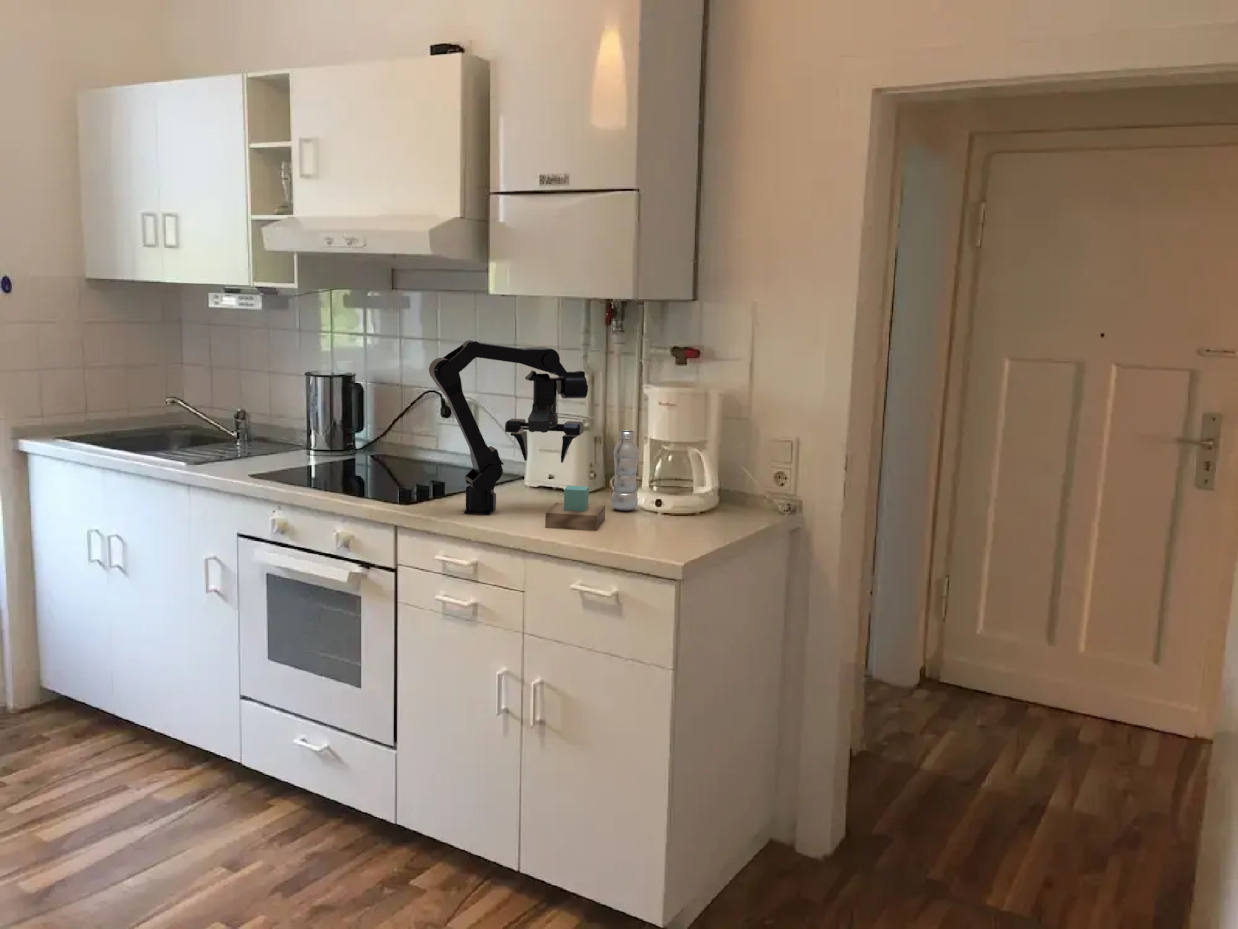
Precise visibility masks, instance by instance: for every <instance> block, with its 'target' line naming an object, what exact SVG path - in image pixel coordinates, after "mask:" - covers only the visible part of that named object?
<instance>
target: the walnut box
mask: <svg viewBox="0 0 1238 929" xmlns="http://www.w3.org/2000/svg"><path fill="white" fill-rule="evenodd" d="M544 519H545V521H544V522H545V525H544V527H545V529H557V530H558V529H559V530H560V529H561V530H576V531H589V532H590V531H591V532H593V531H594V532H597V531H598V530H599V529H600V527H601V526H602V524H603V523H604V522H605V520H606V505H605V504H603V505H602V504H589V503H588V508H587V510H586V511H585V512H584V511H566V510H564V502H555V503H554V504H553V505H552V506H551V507H550V508H549V509H548V510H547V511H546V512H545V518H544Z"/></svg>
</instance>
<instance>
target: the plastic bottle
mask: <svg viewBox="0 0 1238 929" xmlns="http://www.w3.org/2000/svg"><path fill="white" fill-rule="evenodd" d="M635 438H636V437H635V431H634V430H626V429H625V430H619V436H618V439H619V441H618V443H616V445H615V447H614V449H613V461H614V462H613V463H614V473H615V474H614V483H613V484H614V485H613V491H612V495H611V505H612V507H613V509H615V510H618V511H622V512H627V511H633V510H635V509H636V508H637V506H638V502H639V497H638V492H637V472H638V465H639V460H640V450H639V447H638V446H637V444H636V443H635Z"/></svg>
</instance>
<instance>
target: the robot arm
mask: <svg viewBox="0 0 1238 929" xmlns="http://www.w3.org/2000/svg"><path fill="white" fill-rule="evenodd" d="M476 358H479V359H485V360H486V359H487V360H492V361H501V362H508V363H513V364H514V363H515V364H520V365H524V366H526V367H530V368H532V369H536V370H539V371H543V372H546V373H537V372H536V371H535V370H531V371H530V372H529V373H528V374H527V375H526V376H525V378H524V379H525V380H526V381H529V382H533V386H532V387H533V388H532V389H533V390H532V391H533V394H532V395H533V399H532V400H533V402H532V407H531V408H532V409H531V411H530V414H529V416H528V418H527V421H526V419H525V418H511V419H508V420H507V421H506V422H505V423H504V432H505V433H509V434H510V436H512V437H514V438H515V440H516V441H517V443H518V445H519V447H520V451H521V454H522V457H523V459H524V461H525V462H527V461H528V454H529V453H528V432H527V431H529V432H530V433H535V432H537V433H539V432H540V433H543V434H544V433H545V434H546V433H548V432H563V433H564V434H563V436H562V444H561V454H560V463H564V462H565V458H566V455H567V453H568V451H569V448H570V446H571V444H572V441H573V439H576V438H577V437H579V436H581V435H582V434H583V433H584V427H585V426H584V424H583V422H582V421H573V420H572V421H571V420H570V421H566V422H564V423H559V418H558V413H557V406H558V403H557V402H558V401H557V397H558V396H557V394H558V395H560V397H561V398H562V399H586V398H587V395H588V392H589V385H588V382H587V381H588V380H587V377H586V371H583V370H576V371H567V370H566V368H565V367H564V366H563V364H562V363H561V360H560V359H561V357H560V355H559V353H558V352H557V350H556V349H553V348H549V347H546V346H538V347H537V346H536V347H535V346H534V347H532V346H530V347H513V346H508V345H501V344H500V345H499V344H492V343H486V342H479V341H477V340H474V339H473V340H471V339H468V340H465V341H464V342H463V344H461V345H459V347H457V348H455V349H453V350H452V351H450V352H449V353H447V354H446V355H445V356H443V357H438V358H437V357H436V358H435V359H434V360H432V361H431V362H430V365H429V366H428V374H429V376H430V377H431V378H432V381H434V383H435V385H436V386H437V387H438V388H439V390H440V391H441V392H442V394H443V395H444V396H445V397H446V400H447V402H448V404H449V406H450V408H451V410H452V413H453V415H454V418H455V419H456V423H457V424H458V426H459V428H460V430H461V433H462V435H463V437H464V440H465V441H466V444H467V446H468V449H469V454H470V460H471V464H472V468H471V469H470V471H468V472H467V473H466V474H465V475H464V478H463V479H464V480H465V483H466V485H468V486H466V487H465V510H464V511H463V514H469V515H486V516H489V515H491V514H493V513H494V512H495V511H496V510H497V493H496V492H495V487H496V483H497V482H498V481H499V480H500V479H501V478H502V475H503V474H504V468H503V466H504V464H505V463H504V462H503V461H502V460H501V458H500V455H499V451H498V449H497V448H495V447H494V446H492V445H490V446H488V445H487V443H486V441H485V439H484V436H483V434H482V432H481V430H480V428H479V425H478V423H477V421H476V419H475V416H474V415H473V412H472V411H471V410H472V409H471V408H470V406H469V403H468V401H467V398H466V397H465V395H464V392H463V385H462V379H461V375H460V372H461V371H463V370H464V369H465V368H466V367H467V366H469V364H471V362H472V361H474V359H476ZM550 374H551V375H555V376H557V377H551V376H550ZM502 465H503V466H502Z"/></svg>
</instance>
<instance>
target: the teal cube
mask: <svg viewBox="0 0 1238 929" xmlns="http://www.w3.org/2000/svg"><path fill="white" fill-rule="evenodd" d="M589 489H590V486H588V485H587V486H585V485H584V486H583V485H567V486H566V487H565V488H564V489H563V490H564V491H563V493H564V494H563V503H564V510H566V511H584V512H585V511H586V510H587V508H588V504H589V492H590V490H589Z"/></svg>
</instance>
